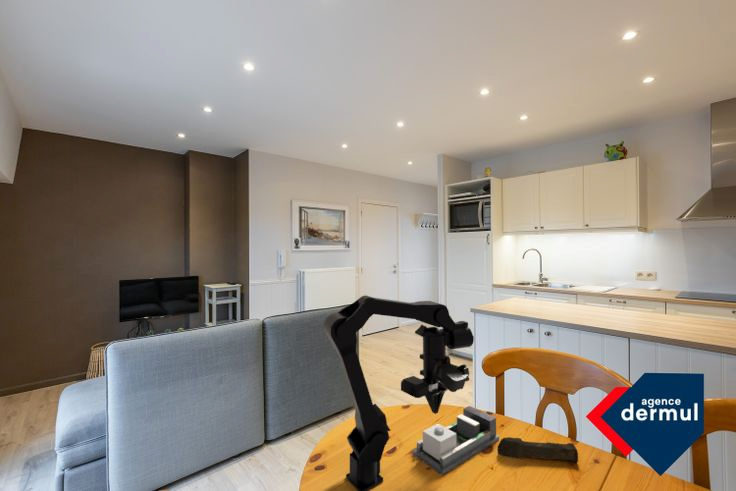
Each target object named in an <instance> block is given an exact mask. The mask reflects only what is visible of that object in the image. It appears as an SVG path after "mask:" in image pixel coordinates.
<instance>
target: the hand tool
mask: <svg viewBox="0 0 736 491" xmlns="http://www.w3.org/2000/svg"><path fill="white" fill-rule="evenodd" d="M497 454H498V455H500V456H503V457H507V458H511V459H516V460H517V459H518V460H523V458H535V459H536V458H537V459H549V460H550V459H551V460H561V461H573V462H574V463H575V464H578V462H579V452H578V449H577V448H576V446H575V444H574V443H571V442H568V443H557V442H556V443H554V442H548V441H547V442H536V441H534V442H533V441H524V440H522V438H520V437H512V436H511V437H510V436H509V437H503V438H502V439H500V441H499V443H498V445H497Z"/></svg>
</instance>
